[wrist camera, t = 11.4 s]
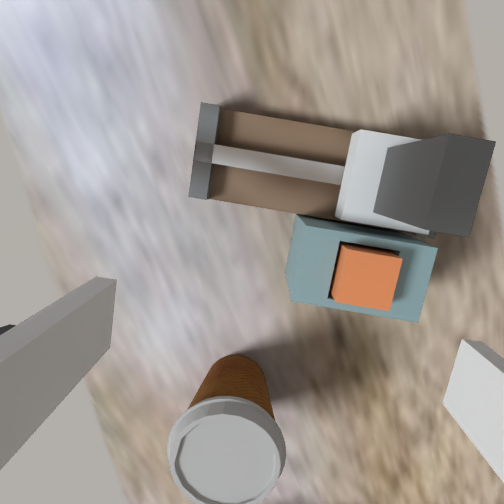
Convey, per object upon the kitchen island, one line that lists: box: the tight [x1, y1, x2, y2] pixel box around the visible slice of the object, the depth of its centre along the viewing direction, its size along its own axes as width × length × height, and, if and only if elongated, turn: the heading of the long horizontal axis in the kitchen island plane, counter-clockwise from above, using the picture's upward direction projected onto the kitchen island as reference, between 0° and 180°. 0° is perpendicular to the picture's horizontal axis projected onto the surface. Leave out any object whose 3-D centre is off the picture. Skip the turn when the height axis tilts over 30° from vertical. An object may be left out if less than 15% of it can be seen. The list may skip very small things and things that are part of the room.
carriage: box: [335, 129, 496, 237], centre depth 26 cm, size 7×7×13 cm
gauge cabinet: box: [285, 214, 438, 323], centre depth 34 cm, size 6×11×9 cm, turn 80°
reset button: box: [329, 241, 403, 311], centre depth 31 cm, size 4×4×7 cm
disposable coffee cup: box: [167, 355, 286, 504], centre depth 35 cm, size 10×10×12 cm
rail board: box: [189, 102, 435, 238], centre depth 35 cm, size 8×22×4 cm, turn 81°
